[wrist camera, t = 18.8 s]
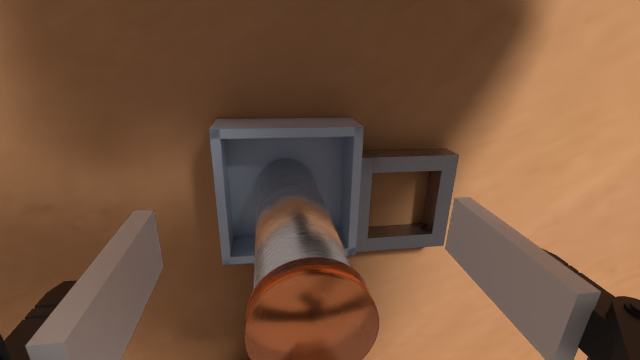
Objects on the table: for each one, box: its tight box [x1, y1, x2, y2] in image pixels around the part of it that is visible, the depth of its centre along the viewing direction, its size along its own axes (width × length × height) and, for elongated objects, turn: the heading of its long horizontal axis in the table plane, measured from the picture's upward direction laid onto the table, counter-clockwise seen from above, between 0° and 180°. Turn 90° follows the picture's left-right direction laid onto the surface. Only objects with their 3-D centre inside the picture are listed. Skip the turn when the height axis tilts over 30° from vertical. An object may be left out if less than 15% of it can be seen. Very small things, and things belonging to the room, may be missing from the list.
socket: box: [356, 149, 459, 252], centre depth 23 cm, size 7×7×2 cm
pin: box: [245, 158, 379, 360], centre depth 15 cm, size 4×4×12 cm
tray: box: [209, 117, 364, 265], centre depth 20 cm, size 8×8×3 cm
